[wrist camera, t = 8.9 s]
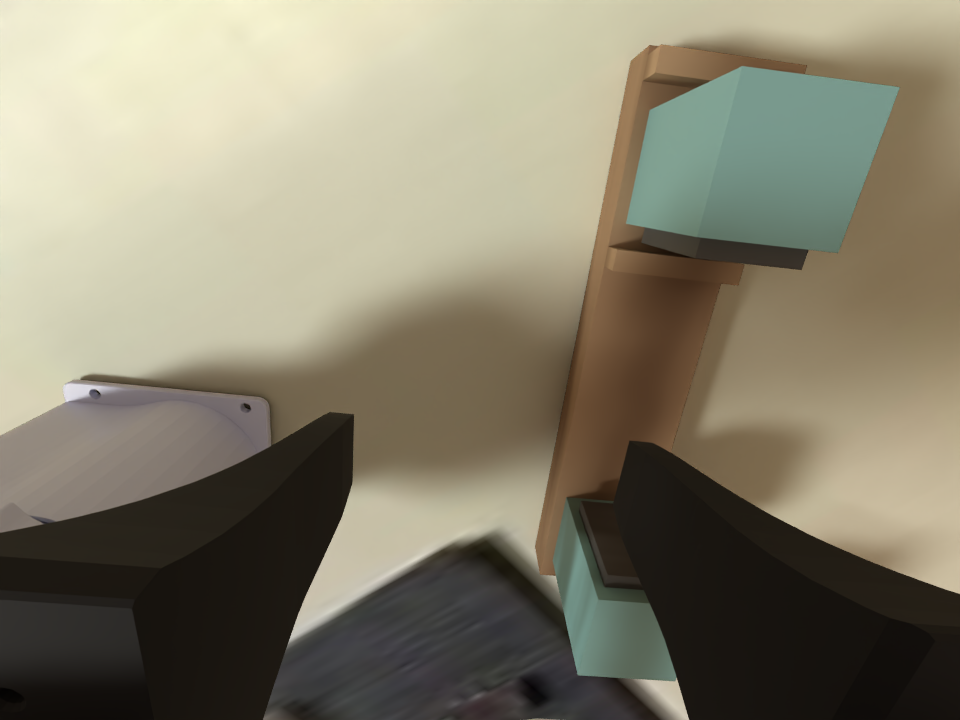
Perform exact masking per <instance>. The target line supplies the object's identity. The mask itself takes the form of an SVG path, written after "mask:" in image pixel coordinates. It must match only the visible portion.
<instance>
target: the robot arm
mask: <svg viewBox="0 0 960 720" xmlns="http://www.w3.org/2000/svg"><path fill="white" fill-rule="evenodd" d="M96 390H98V391H99V392H100V394H101V395H99V394H98V393H97V392H96ZM63 393H64V397H65V403H63V404H61V405H59V406H57V407H55V408H53V409H51V410H49V411H48V412H46V413H44V414H42V415H40V416H38V417H36V418H34V419H32V420H30V421H28V422H26V423H24V424H22V425H20V426H18V427H16V428H14V429H12V430H10V431H8V432H6V433H5V434H3V435H1V436H0V720H263V717H264V714H265V711H266V708H267V705H268V702H269V698H270V695H271V692H272V689H273V686H274V683H275V680H276V677H277V674H278V671H279V668H280V665H281V662H282V659H283V656H284V653H285V650H286V647H287V645H288V642H289V639H290V636H291V633H292V630H293V627H294V624H295V621H296V619H297V616H298V613H299V611H300V608H301V606H302V603H303V601H304V598H305V596H306V594H307V592H308V589H309V587H310V585H311V583H312V581H313V579H314V576H315V574H316V572H317V570H318V568H319V566H320V564H321V561H322V559H323V557H324V555H325V553H326V551H327V548H328V546H329V544H330V542H331V540H332V538H333V535H334V533H335V531H336V529H337V527H338V524H339V522H340V520H341V518H342V515H343V512H344V509H345V505H346V502H347V499H348V496H349V492H350V489H351V485H352V478H353V430H354V415H353V414H343V413H332V412H329V413H327V414H325V415H323V416H322V417H320V418H318V419H316V420H315V421H313V422H311V423H310V424H308V425H306V426H305V427H303V428H301V429H300V430H298V431H296V432H295V433H293V434H291V435H290V436H288V437H286V438H284V439H283V440H281V441H279V442H278V443H276V444H274V445H272V446H271V428H270V408H269V404H268V402H267V401H266V400H265V399H263V398H261V397H255V396H245V395H234V394H224V393H213V392H203V391H192V390H181V389H171V388H160V387H150V386H139V385H129V384H118V383H108V382H97V381H87V380H72V381H70V382H68V383H66V384H65V385H64V386H63ZM244 403H246V404H248V405H249V406H250V407H251V409H250V410H249V409H247V408H245V407H244ZM613 508H614V512H615V516H616V520H617V524H618V527H619V530H620V534H621V537H622V540H623V543H624V545H625V548H626V550H627V552H628V555H629V557H630V559H631V562H632V564H633V567H634V569H635V571H636V573H637V576H638V578H639V580H640V583H641V585H642V587H643V589H644V592H645V594H646V596H647V599H648V601H649V603H650V605H651V608H652V610H653V612H654V615H655V617H656V619H657V622H658V624H659V627H660V629H661V632H662V634H663V637H664V640H665V643H666V646H667V649H668V652H669V655H670V658H671V661H672V664H673V667H674V671H675V674H676V677H677V680H678V683H679V686H680V690H681V693H682V697H683V700H684V703H685V707H686V710H687V714H688V717H689V720H960V594H958V593H955V592H951V591H948V590H945V589H942V588H939V587H936V586H933V585H931V584H928V583H925V582H923V581H920V580H917V579H914V578H912V577H909V576H906V575H904V574H901V573H898V572H895V571H893V570H890V569H888V568H885V567H883V566H880V565H878V564H875V563H873V562H870V561H867V560H865V559H863V558H860V557H858V556H856V555H853V554H851V553H849V552H847V551H844V550H842V549H840V548H837V547H835V546H833V545H830V544H828V543H826V542H824V541H822V540H820V539H817V538H815V537H813V536H811V535H809V534H807V533H805V532H803V531H801V530H799V529H797V528H795V527H793V526H791V525H789V524H787V523H785V522H783V521H781V520H780V519H778V518H776V517H774V516H772V515H770V514H768V513H767V512H765V511H763V510H761V509H759V508H758V507H756V506H754V505H753V504H751V503H749V502H748V501H746V500H744V499H743V498H741V497H739V496H737V495H736V494H734V493H733V492H731V491H729V490H728V489H726V488H724V487H723V486H721V485H720V484H718V483H717V482H715V481H713V480H712V479H710V478H709V477H707V476H706V475H704V474H703V473H701V472H700V471H698V470H697V469H695V468H694V467H692V466H690V465H689V464H687V463H686V462H684V461H683V460H681V459H680V458H678V457H677V456H675V455H673V454H672V453H670V452H669V451H667V450H665V449H664V448H662V447H660V446H658V445H656V444H654V443H651V442H641V441H630V440H629V444H628V448H627V452H626V456H625V460H624V463H623V467H622V471H621V475H620V479H619V483H618V486H617V490H616V494H615V498H614V502H613ZM529 720H553V719H529Z"/></svg>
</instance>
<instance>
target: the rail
mask: <svg viewBox="0 0 960 720" xmlns="http://www.w3.org/2000/svg"><path fill="white" fill-rule="evenodd" d="M742 66H746V67H753V68H761V69H768V70H776V71H783V72H790V73H798V74H805V70H806V67H807V65H800V64H793V63H786V62H779V61H772V60H765V59H758V58H751V57H744V56H738V55H731V54H724V53H717V52H710V51H703V50H696V49H689V48H682V47H675V46H668V45H660V46H652V45H649V46H648V47H647V48H646V49H645V50H643V51H642V52H641V53H640V54H639V55H637V56H636V57H635V58H634V59H633V60H632V61H631V63H630V68H629V73H628V78H627V83H626V88H625V93H624V99H623V104H622V109H621V114H620V119H619V124H618V129H617V134H616V139H615V144H614V149H613V154H612V159H611V165H610V170H609V175H608V180H607V185H606V190H605V195H604V200H603V205H602V210H601V215H600V220H599V225H598V230H597V236H596V241H595V246H594V251H593V256H592V261H591V266H590V271H589V276H588V281H587V286H586V291H585V296H584V302H583V307H582V312H581V317H580V322H579V327H578V332H577V337H576V342H575V347H574V352H573V357H572V362H571V368H570V373H569V378H568V383H567V388H566V393H565V398H564V403H563V408H562V413H561V418H560V423H559V428H558V434H557V439H556V444H555V449H554V454H553V459H552V464H551V469H550V474H549V479H548V484H547V489H546V494H545V500H544V505H543V510H542V515H541V520H540V525H539V530H538V535H537V540H536V545H535V549H536V554H537V560H538V565H539V571H540V575H554V576H556V578H557V583H558V587H559V592H560V596H561V601H562V605H563V610H564V614H565V619H566V623H567V628H568V633H569V637H570V642H571V646H572V651H573V655H574V660H575V664H576V669H577V673H578V675H585V676H600V677H616V678H631V679H647V680H663V681H675V680H676V674H675V671H674V667H673V664H672V661H671V658H670V655H669V652H668V649H667V646H666V643H665V640H664V637H663V634H662V632H661V629H660V627H659V624H658V622H657V619H656V617H655V615H654V612H653V610H652V608H651V605H650V603H649V601H648V599H647V596H646V594H645V592H644V589H643V587H642V585H641V583H640V580H639V578H638V576H637V573H636V571H635V569H634V567H633V564H632V562H631V559H630V557H629V555H628V552H627V550H626V548H625V545H624V543H623V540H622V537H621V534H620V530H619V527H618V524H617V520H616V516H615V512H614V508H613V502H614V498H615V494H616V490H617V486H618V483H619V479H620V475H621V471H622V467H623V463H624V460H625V456H626V452H627V448H628V444H629V440H630V441H641V442H651V443H654V444H656V445H658V446H660V447H662V448H664V449H665V450H667V451H669V452H670V453H671V449H672V446H673V443H674V439H675V436H676V433H677V429H678V426H679V422H680V419H681V416H682V412H683V409H684V406H685V402H686V399H687V396H688V392H689V389H690V386H691V382H692V379H693V376H694V372H695V369H696V366H697V362H698V359H699V356H700V352H701V349H702V346H703V342H704V339H705V336H706V332H707V329H708V326H709V322H710V319H711V316H712V312H713V309H714V306H715V302H716V299H717V296H718V292H719V289H720V285H721V284H730V285H739V281H740V278H741V275H742V272H743V269H744V264H740V263H734V262H725V261H716V260H707V259H698V258H693V257H689V256H686V255H682V254H679V253H675V252H672V251H668V250H665V249H661V248H658V247H654V246H651V245H647V244H644V243H641V242H642V237H643V233H644V228H645V227H641V226H636V225H630V224H626V221H627V216H628V212H629V207H630V202H631V197H632V193H633V188H634V183H635V178H636V173H637V169H638V164H639V159H640V154H641V150H642V145H643V140H644V135H645V131H646V126H647V121H648V116H649V111H650V110H651V109H653V108H655V107H657V106H659V105H661V104H664V103H666V102H668V101H670V100H672V99H674V98H676V97H678V96H680V95H682V94H685V93H687V92H689V91H691V90H693V89H695V88H697V87H699V86H701V85H704V84H706V83H708V82H710V81H712V80H714V79H716V78H718V77H720V76H723V75H725V74H727V73H729V72H731V71H733V70H735V69H737V68H739V67H742Z"/></svg>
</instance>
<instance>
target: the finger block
mask: <svg viewBox="0 0 960 720" xmlns="http://www.w3.org/2000/svg"><path fill="white" fill-rule="evenodd" d="M899 88H900V87H895V86H887V85H880V84H873V83H865V82H858V81H850V80H843V79H835V78H828V77H820V76H813V75H805V74H798V73H790V72H783V71H776V70H768V69H761V68H753V67H746V66H742V67H739V68H737V69H735V70H733V71H731V72H729V73H727V74H725V75H723V76H720V77H718V78H716V79H714V80H712V81H710V82H708V83H706V84H704V85H701V86H699V87H697V88H695V89H693V90H691V91H689V92H687V93H685V94H682V95H680V96H678V97H676V98H674V99H672V100H670V101H668V102H666V103H664V104H661V105H659V106H657V107H655V108H653V109H651V110H650V111H649V116H648V121H647V126H646V131H645V135H644V140H643V145H642V150H641V154H640V159H639V164H638V169H637V173H636V178H635V183H634V188H633V193H632V197H631V202H630V207H629V212H628V216H627V221H626V224H630V225H636V226H641V227H645V228H644V233H643V237H642V242H641V243H644V244H647V245H651V246H654V247H658V248H661V249H665V250H668V251H672V252H675V253H679V254H682V255H686V256H689V257H693V258H698V259H707V260H716V261H725V262H734V263H743V264H752V265H761V266H770V267H779V268H789V269H798V270H802V267H803V264H804V261H805V259H806V256H807V253H808V250H816V251H824V252H833V253H838V252H839V249H840V247H841V244H842V241H843V238H844V236H845V233H846V230H847V228H848V225H849V222H850V220H851V217H852V214H853V212H854V209H855V206H856V204H857V201H858V198H859V196H860V193H861V190H862V187H863V185H864V182H865V179H866V177H867V174H868V171H869V169H870V166H871V163H872V161H873V158H874V155H875V153H876V150H877V147H878V145H879V142H880V139H881V136H882V134H883V131H884V128H885V126H886V123H887V120H888V118H889V115H890V112H891V110H892V107H893V104H894V102H895V99H896V96H897V94H898V91H899Z"/></svg>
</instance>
